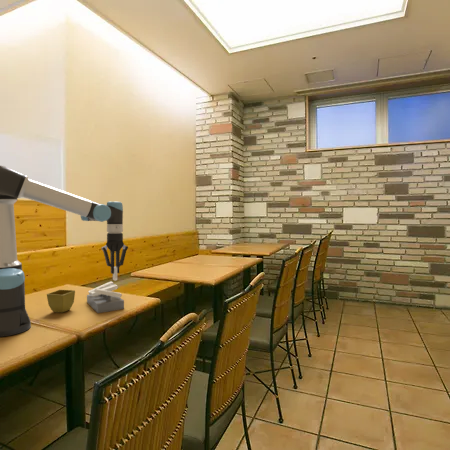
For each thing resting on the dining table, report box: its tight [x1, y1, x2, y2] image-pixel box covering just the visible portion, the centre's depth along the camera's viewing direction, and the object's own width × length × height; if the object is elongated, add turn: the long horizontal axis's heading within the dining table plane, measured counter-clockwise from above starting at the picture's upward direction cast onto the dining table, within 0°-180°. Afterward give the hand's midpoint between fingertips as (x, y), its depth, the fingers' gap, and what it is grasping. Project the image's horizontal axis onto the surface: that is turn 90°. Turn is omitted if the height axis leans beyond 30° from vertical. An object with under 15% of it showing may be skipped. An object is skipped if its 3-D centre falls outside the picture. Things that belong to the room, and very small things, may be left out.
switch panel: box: [86, 293, 125, 314], centre depth 163 cm, size 12×22×6 cm, turn 34°
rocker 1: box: [87, 281, 115, 295], centre depth 168 cm, size 12×3×2 cm, turn 124°
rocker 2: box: [91, 283, 119, 297], centre depth 163 cm, size 12×3×2 cm, turn 124°
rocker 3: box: [94, 287, 123, 298], centre depth 158 cm, size 12×3×2 cm, turn 124°
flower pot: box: [46, 289, 76, 314], centre depth 154 cm, size 9×9×9 cm
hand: (115, 279), depth 166 cm, fingers closed
